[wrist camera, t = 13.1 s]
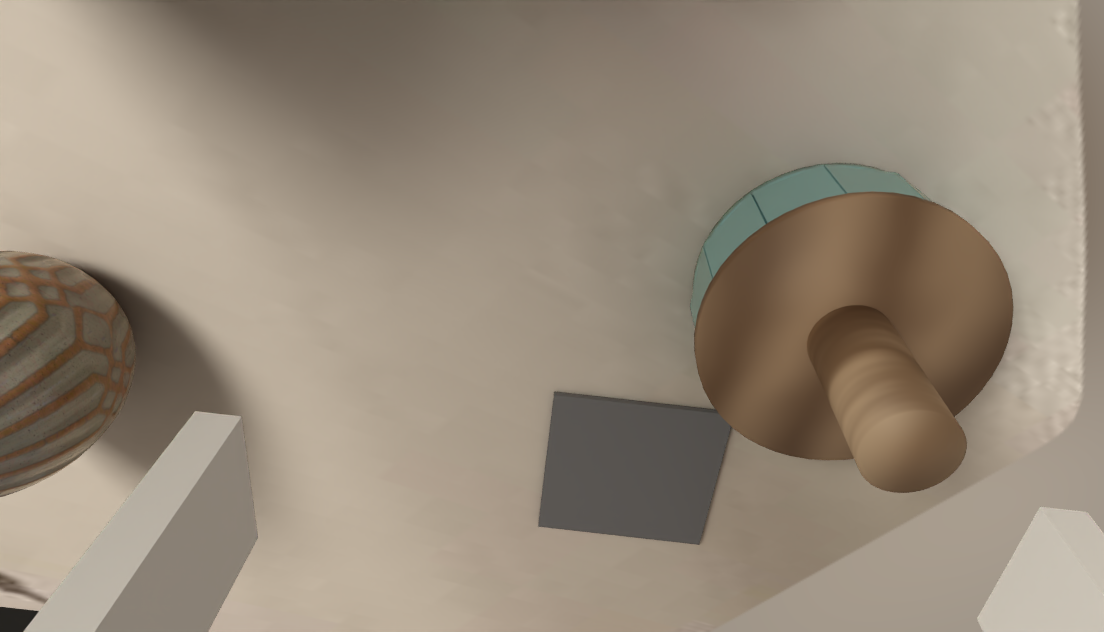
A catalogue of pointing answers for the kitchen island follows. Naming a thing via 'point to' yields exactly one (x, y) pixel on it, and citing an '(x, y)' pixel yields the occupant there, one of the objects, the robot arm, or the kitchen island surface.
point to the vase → (56, 366)
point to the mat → (631, 467)
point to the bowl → (785, 209)
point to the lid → (857, 334)
